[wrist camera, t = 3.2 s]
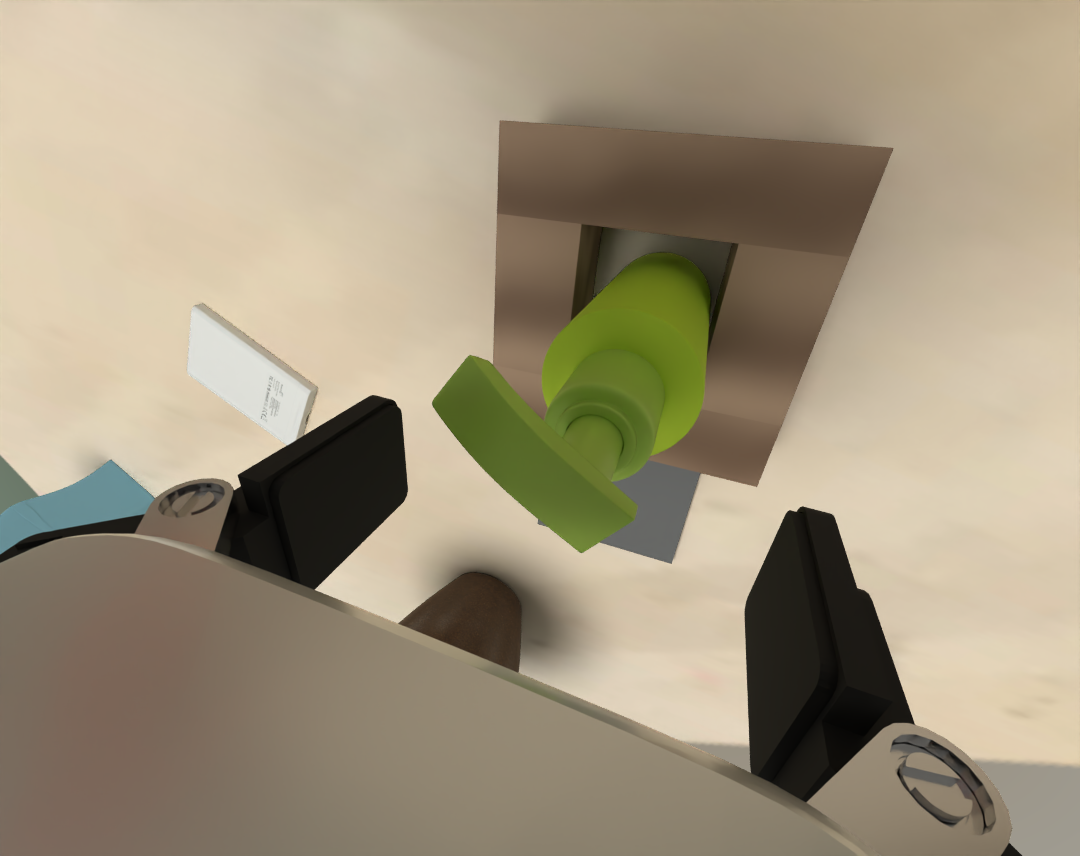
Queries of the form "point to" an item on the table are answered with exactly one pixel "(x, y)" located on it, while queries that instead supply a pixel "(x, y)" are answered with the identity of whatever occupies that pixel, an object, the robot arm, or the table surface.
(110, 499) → the light blue angular piece
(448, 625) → the plant pot
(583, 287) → the socket block
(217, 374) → the external hard drive
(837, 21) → the table surface
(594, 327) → the soap dispenser
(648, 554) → the rubber mat
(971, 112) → the table surface
